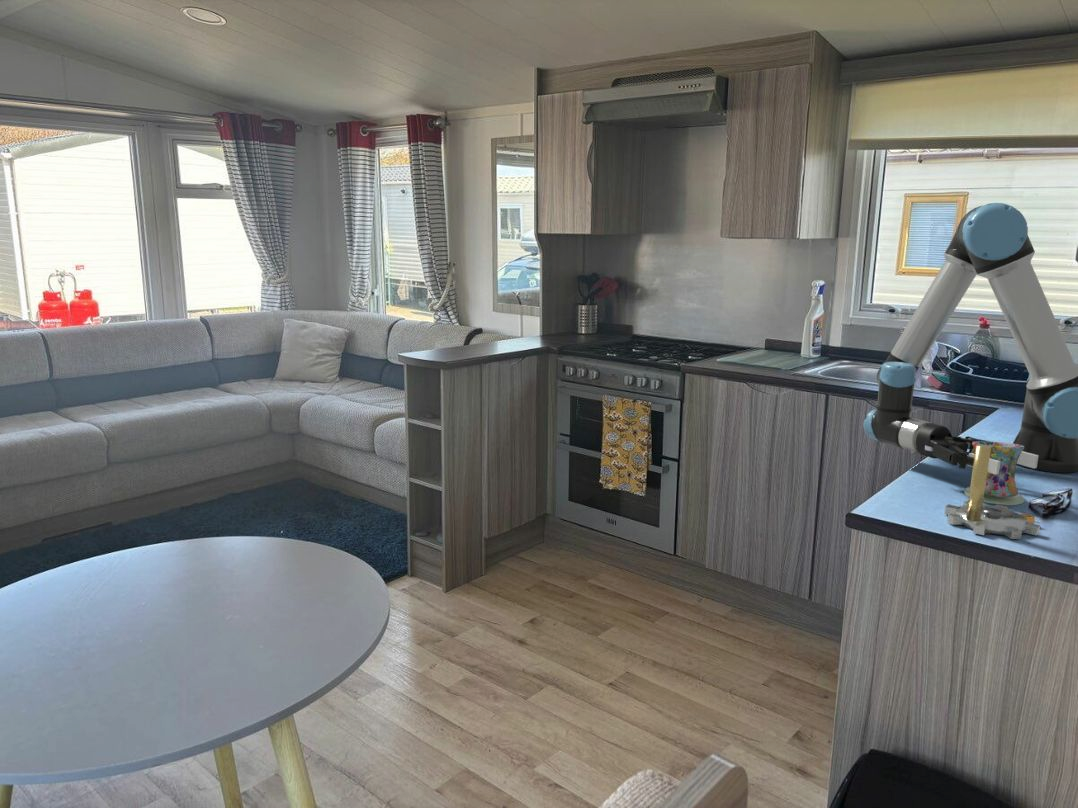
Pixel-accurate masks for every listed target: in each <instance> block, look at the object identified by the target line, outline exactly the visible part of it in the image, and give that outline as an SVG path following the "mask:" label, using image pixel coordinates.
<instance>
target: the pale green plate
mask: <svg viewBox="0 0 1078 808" xmlns="http://www.w3.org/2000/svg"><path fill="white" fill-rule="evenodd" d="M969 492H970V486H967V487H966V488H964V490H963V493H964V495H966V496H967V497H968V498H969ZM1025 500H1026V499H1025V497H1024V496H1022V495H1021V494H1020V493H1018V495H1016V496H1013V497H1006V498H1000V497H990V496H984V499H983V503H987V504H991V505H1001V506H1020V505H1022V504H1024V503H1025Z"/></svg>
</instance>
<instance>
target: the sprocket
mask: <svg viewBox="0 0 1078 808" xmlns="http://www.w3.org/2000/svg"><path fill="white" fill-rule="evenodd" d="M990 451H991V447H990V446H988V445H976V450H975V457H974V464H973V467H972V473H971V480H970V485H969V487H970V492H969V497H968V498H967V499H968V501H963V505H960V506H957V505H954V504H947V505H946V506H945V507H944V514H945V515H947V520H946V522H948V523H949V524H951V525H952V526H953V525H955V526H956V525H958V526H964V527H966V528H968V529H972V530H973V531H972V533H974V534H977V535H980V536H985V535H986V534H993V535H1000V536H1006V537H1007V538H1009V539H1010V540H1015V539H1016V540H1021V539H1022V534H1029V535H1033V536H1038V534H1039V533H1040V530H1041V529H1040V528H1041V525H1040V524H1036V523H1035V520H1036V517H1035V516H1033V515H1031V514H1030V513H1018V512H1016V511H1013V510H1009V509H1008V506H1007V505H997V504H995V506H992V505H984V502H983V499H984V493H985V486H986V479H987V472H988V465H989V458H990Z"/></svg>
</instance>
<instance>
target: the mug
mask: <svg viewBox="0 0 1078 808" xmlns="http://www.w3.org/2000/svg"><path fill="white" fill-rule="evenodd" d="M988 441H989V440H986V441H976V442H972V445H973V447H974V448H973V450H972V453H974V454H975V450H976V445H988V446H990V447H991V451H990V458H991V459H994V460H998V461H1001V463H1000V470H999V474H998V475H995V474H992V473H989V472H987V479H986V486H985V493H984V496H990V497H1000V498H1006V497H1013V496H1016V495H1018V494H1019V491H1018V489H1017V485H1016V480H1015V476H1016V475H1015V473H1016V468H1017V461H1018V458H1019V456H1020V454H1021V452H1022V451H1023V449H1024V446H1023V445H1018V444H1013V442H1012V443H1010V442H1002V441H1001V442H1000V441H991V442H988Z"/></svg>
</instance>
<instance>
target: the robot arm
mask: <svg viewBox="0 0 1078 808" xmlns="http://www.w3.org/2000/svg"><path fill="white" fill-rule="evenodd" d="M1028 230H1029V227H1028V222H1027V220H1026V218H1025V216H1024V214H1023V213H1022V212H1021V211H1020V210H1019V209H1017V208H1015V207H1014V206H1012V205H1009V204H1008V203H1002V202H991V203H986V204H984V205H980V206H977V207H974V208H973V209H971V210H970V211H968V212H967V213H966V214H965V215H964V216H963V217H962V218H961V220H960V221H959V223H958V226H957V227H956V229H955V233H954V234H953V236H952V238H951V241H950V242H949V245H948V247H947V249H946V250H945V252H944V254H943V256H944V259H945V261H944V262H943V264H942V265H941V267H940V268H939V271H938V272H937V274H936V276H935V278H934V279H933V281H932V283H931V284H930V286H929V288H928V289H927V291H926V292H925V294H924V296H923V298H921V301H920V302H919V305H918V306H917V308H916V309H915V311H914V313H913V314H912V316H911V318H910V319H909V321H908V323H907V325H906V326H905V328H904V329H903V332H902V333H901V335H900V336H899V338H898V340H897V341H896V343H895V345H894V346H893V348H892V350H891V351H890V354H889V355H888V356H887V358H886V359H885V362H883V363H882V364H881V365H880V367H879V368H878V371H877V373H876V382H877V385H878V386H877V387H878V390H877V391H878V394H877V404H876V408H874V409H871V410H870V411H869V412H868V413H867V414H866V418H865V419H864V420H863V430H864V433H865V434H866V436H867V437H868V438H870V439H872V440H875V441H877V442H879V443H881V444H886V445H890V446H892V447H896V448H899V449H902V450H905V451H906V450H907V451H909V452H910V454H912V455H915V454H919V455H921V456H925V457H928V458H931V459H936V460H937V459H938V460H941V461H943V462H945V463H947V464H949V465H951V466H953V467H954V466H958V468H959V469H961V470H964V469H966V468H967V467H969V468H973V464H974V457H975V454H974V453H972V450H973V448H974V447H973V445H972V442H976V441H988V442H992V441H990V440H984V439H980V438H975V437H972V436H965V437H964V438H963V437H961V436H959V435H958V436H957V435H952V434H951V431H950V429H949V428H948V427H946V426H945V425H941V424H936V423H934V422H933V423H932V422H930V421H926V420H922V419H919V418H914V417H911V411H912V405H913V397H914V390H915V383H916V381H917V380H916V379H917V378H916V374H917V372H918V371H919V369H920V367H921V365H922V363H923V361H924V360H925V359H926V357H927V355H929V352H930V351H931V349H932V347H933V345H934V344H935V343H936V341H937V339H938V338H939V336H940V334H941V333H942V331H943V330H944V328H945V327H946V325H947V323H948V321H949V320H950V318H951V317H952V315H953V313H954V312H955V311H956V308H957V307H958V305H959V304H960V302H961V301H962V299H963V297H964V296H965V295H966V292H967V291H968V290H969V287H970V286H971V284H972V282H973V281H974V279H975V278H976V276H980V277H981V278H985V279H987V280H988V281H987V282H989V285H990V288H991V290H992V292H993V294H994V296H995V298H996V301H997V304H998V305H999V308H1000V310H1001V312H1002V314H1003V316H1004V320H1005V322H1006V323H1007V326H1008V329H1009V330H1010V333H1011V335H1012V337H1013V339H1014V342H1015V345H1016V347H1017V349H1018V352H1019V353H1020V356H1021V357H1022V361H1023V363H1024V365H1025V367H1026V369H1027V372H1028V378H1027V380H1026V386H1025V387H1026V391H1025V398H1024V402H1023V403H1024V405H1023V410H1022V418H1021V424H1020V429H1019V431H1018V433H1017V434H1016V436H1015V438H1014V440H1013V442H1012V444H1018V445H1023V446H1024V449H1023V451H1022V452H1021V454H1020V456H1019V458H1018V461H1017V464H1016V466H1017V465H1018V466H1021V467H1024V468H1027V469H1031V470H1036V471H1037V470H1038V471H1043V472H1050V473H1062V474H1063V473H1069V474H1071V473H1077V472H1078V363H1076V362H1075V361H1074V358H1073V356H1072V355H1071V352H1070V350H1069V346H1068V345H1067V343H1066V340H1065V338H1064V335H1063V334H1062V332H1061V331H1062V330H1061V329H1060V326H1059V325H1058V322H1057V319H1056V318H1055V315H1054V313H1053V311H1052V309H1051V307H1050V304H1049V302H1048V300H1047V297H1046V295H1045V292H1044V290H1043V287H1042V285H1041V284H1040V281H1039V278H1038V276H1037V274H1036V272H1035V269H1034V267H1033V264H1032V260H1033V257H1034V255H1035V253H1036V251H1035V249H1034V247H1033V244H1032V241H1031V240H1030V239H1031V238H1030V237H1029V234H1028V232H1029V231H1028ZM1000 463H1001V461H998V460H994V459H991V458H989V465H988V472H989V473H992V474H995V475H998V474H999V470H1000ZM966 465H967V466H966Z"/></svg>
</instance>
